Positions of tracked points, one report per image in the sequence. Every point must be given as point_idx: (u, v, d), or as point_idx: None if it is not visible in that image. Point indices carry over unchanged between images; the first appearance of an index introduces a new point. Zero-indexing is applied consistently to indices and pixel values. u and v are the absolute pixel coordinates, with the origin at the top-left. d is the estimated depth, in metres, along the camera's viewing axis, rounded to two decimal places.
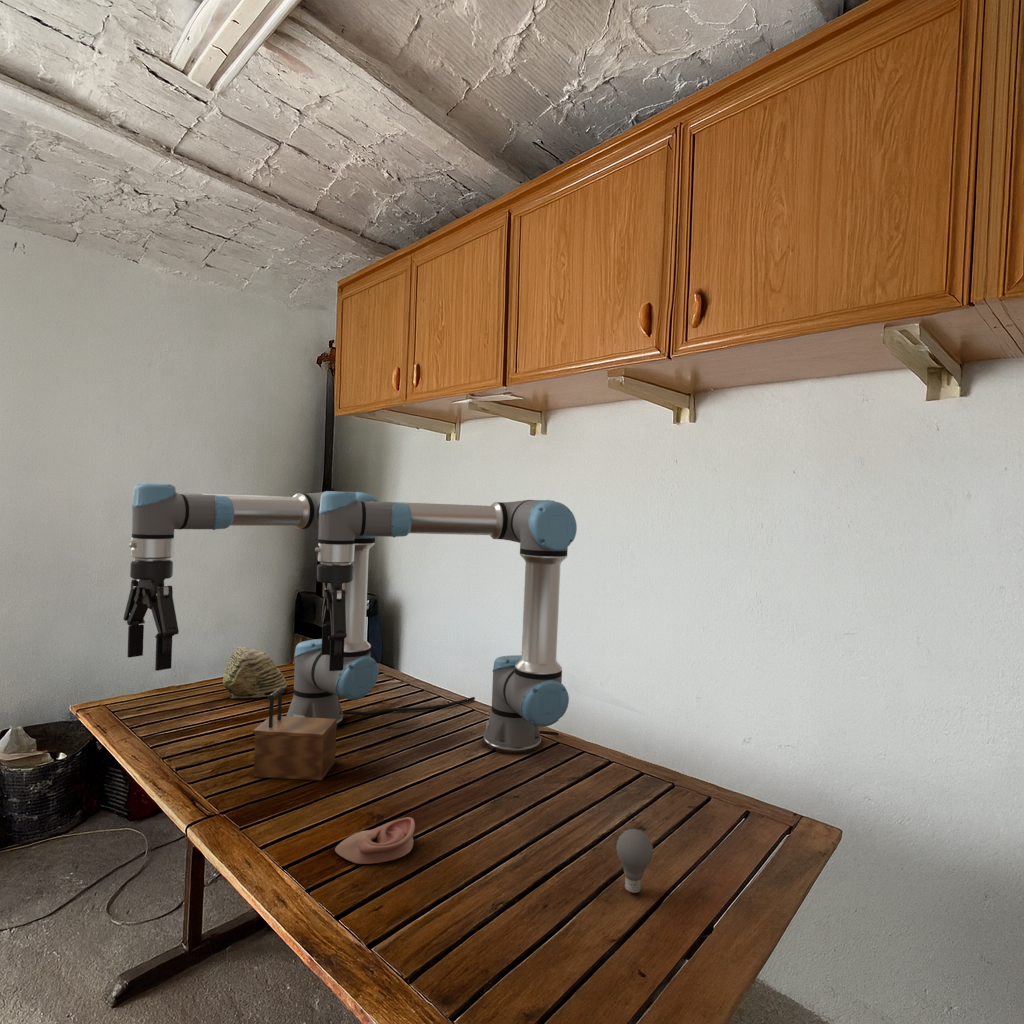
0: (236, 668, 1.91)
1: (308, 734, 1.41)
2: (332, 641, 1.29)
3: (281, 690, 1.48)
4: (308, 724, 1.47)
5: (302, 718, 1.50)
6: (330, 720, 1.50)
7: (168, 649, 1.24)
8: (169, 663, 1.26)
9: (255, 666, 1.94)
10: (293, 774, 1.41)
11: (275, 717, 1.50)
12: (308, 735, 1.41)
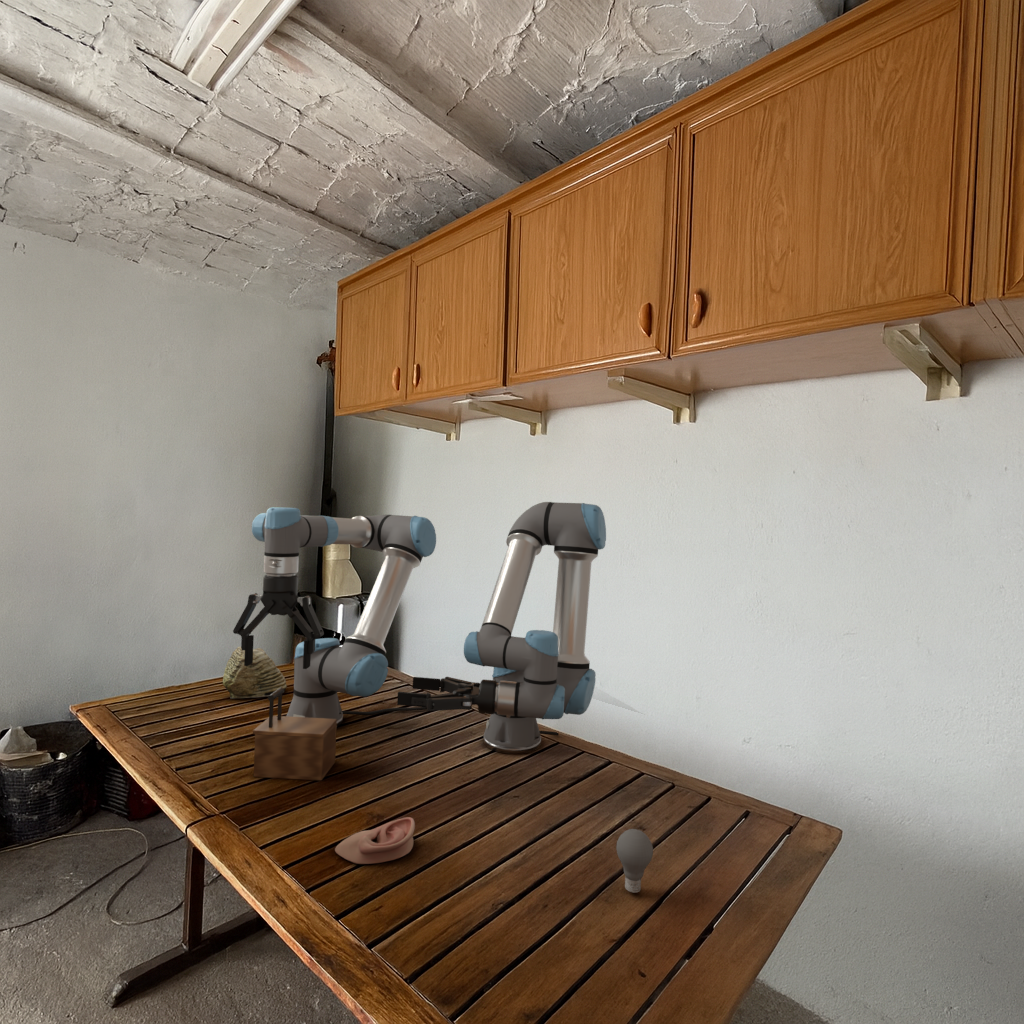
0: (236, 668, 1.91)
1: (308, 734, 1.41)
2: None
3: (281, 690, 1.48)
4: (308, 724, 1.47)
5: (302, 718, 1.50)
6: (330, 720, 1.50)
7: (314, 649, 1.46)
8: (309, 662, 1.47)
9: (255, 666, 1.94)
10: (293, 774, 1.41)
11: (276, 717, 1.50)
12: (308, 735, 1.41)
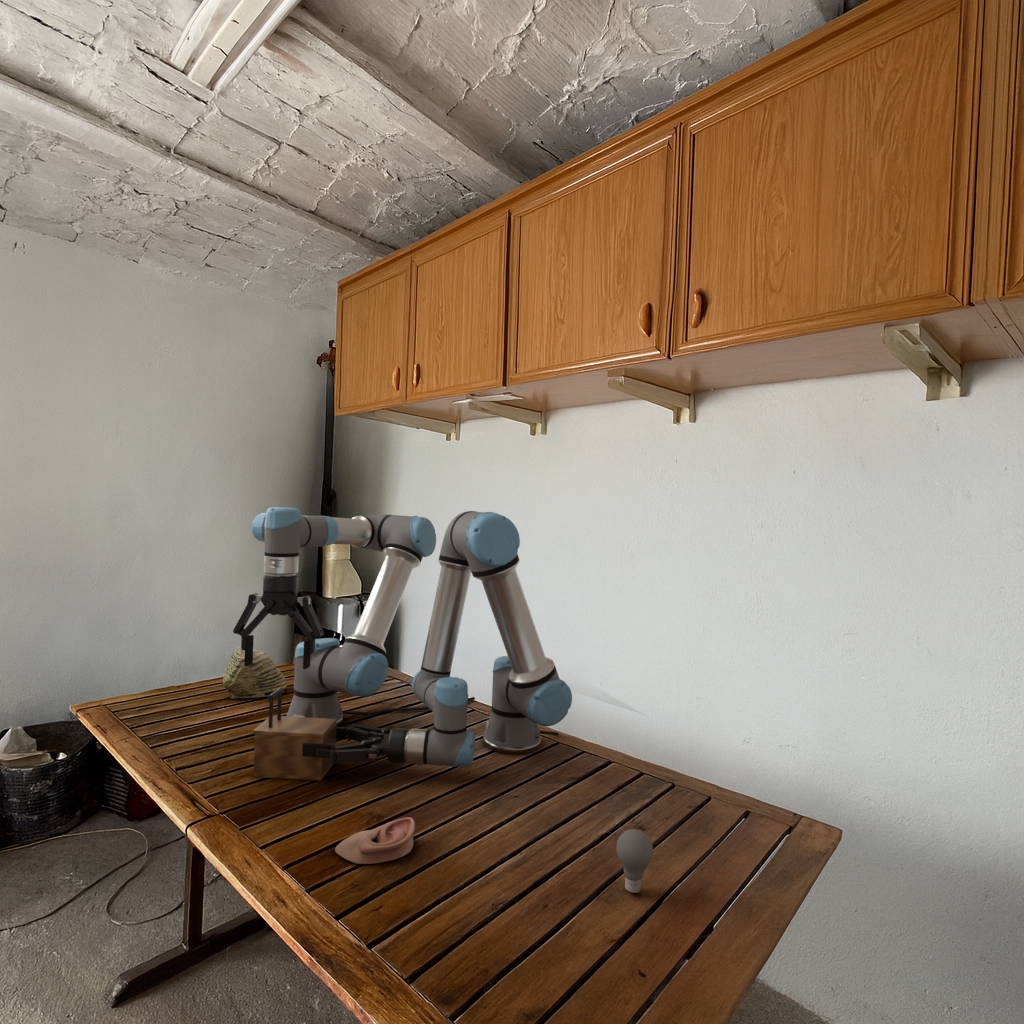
0: (236, 668, 1.91)
1: (308, 734, 1.41)
2: None
3: (281, 690, 1.48)
4: (307, 724, 1.47)
5: (302, 718, 1.50)
6: (330, 720, 1.50)
7: (314, 649, 1.46)
8: (309, 662, 1.47)
9: (255, 666, 1.94)
10: (293, 774, 1.41)
11: (275, 717, 1.50)
12: (308, 735, 1.41)
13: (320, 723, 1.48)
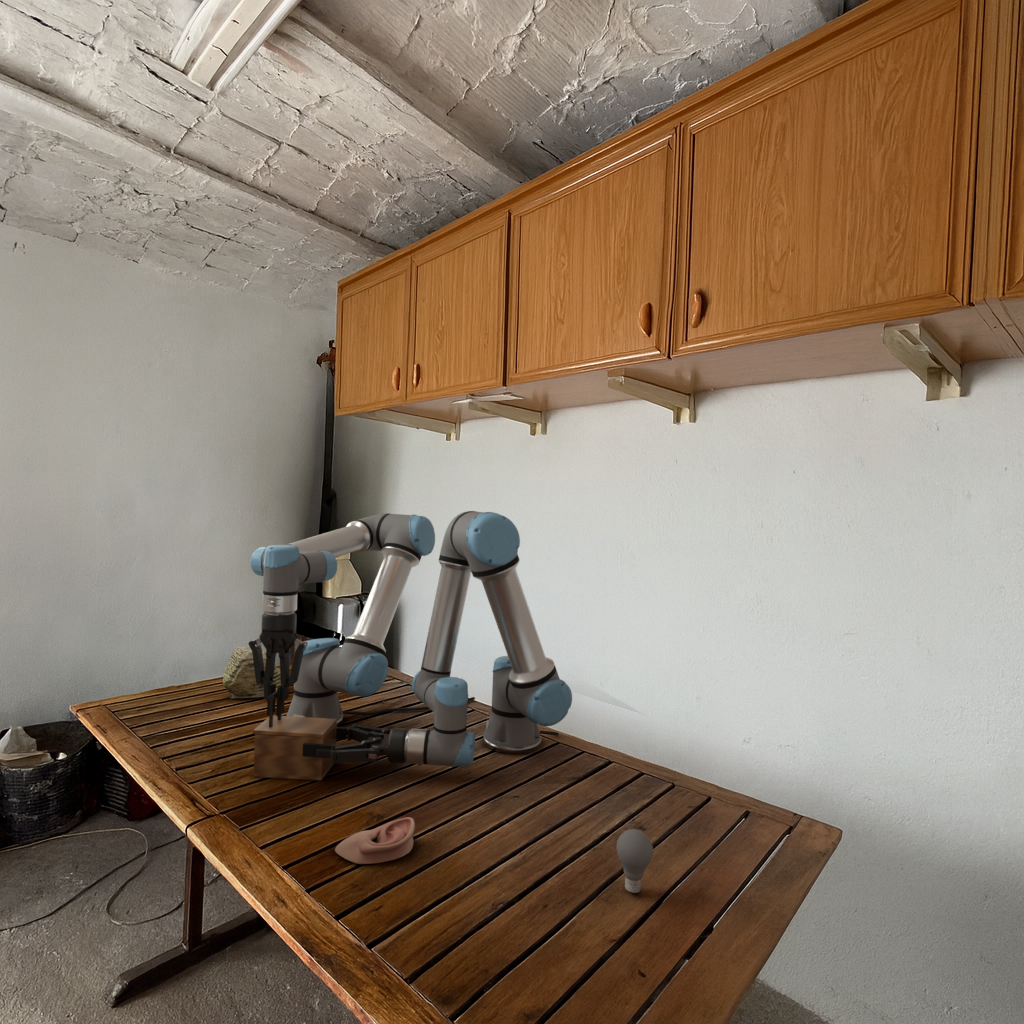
0: (236, 668, 1.91)
1: (308, 734, 1.41)
2: None
3: None
4: (308, 724, 1.47)
5: (302, 718, 1.50)
6: (330, 720, 1.50)
7: (287, 696, 1.46)
8: (283, 708, 1.47)
9: None
10: (293, 774, 1.41)
11: (275, 716, 1.50)
12: (308, 735, 1.41)
13: (320, 723, 1.48)
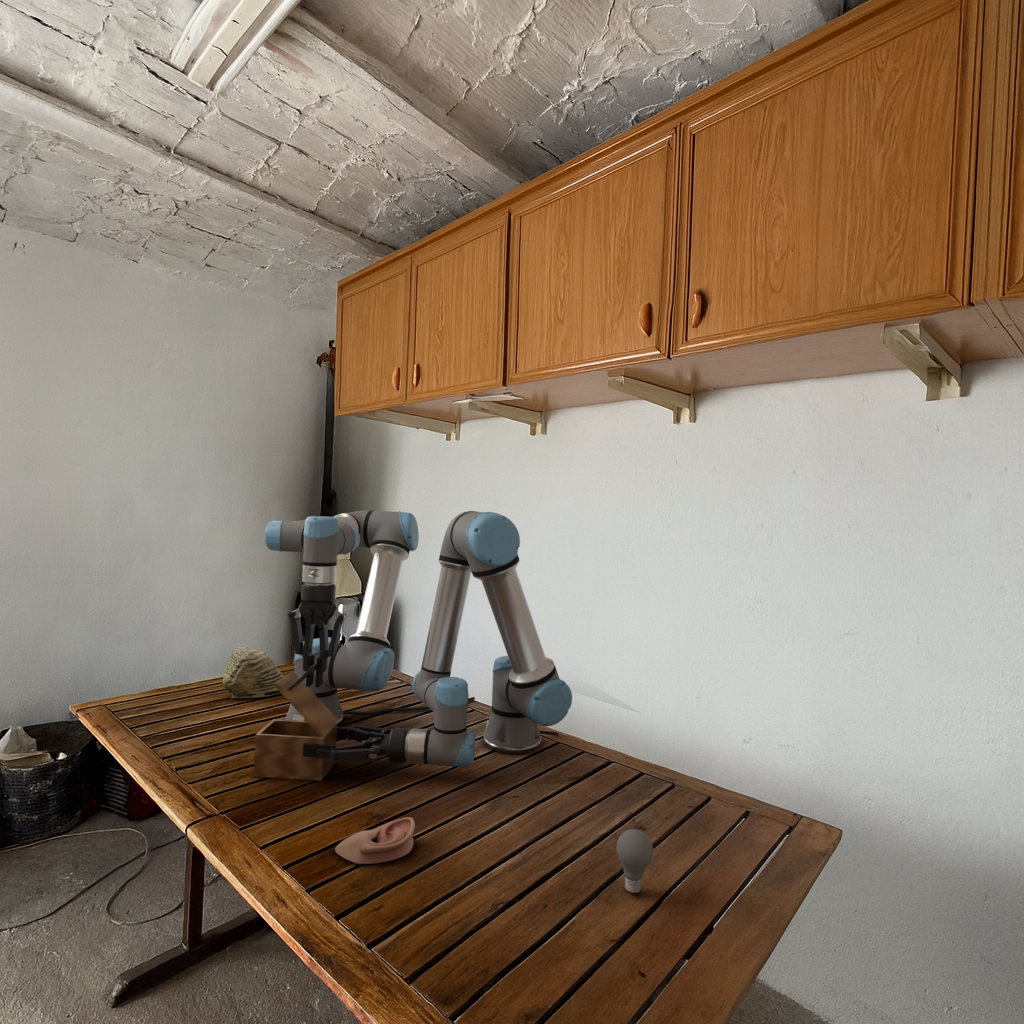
0: (236, 668, 1.91)
1: (314, 725, 1.41)
2: None
3: None
4: (316, 709, 1.47)
5: (314, 696, 1.50)
6: (333, 718, 1.50)
7: (326, 667, 1.46)
8: (322, 680, 1.47)
9: (255, 666, 1.94)
10: (293, 774, 1.41)
11: (296, 676, 1.50)
12: (313, 725, 1.41)
13: (325, 716, 1.47)
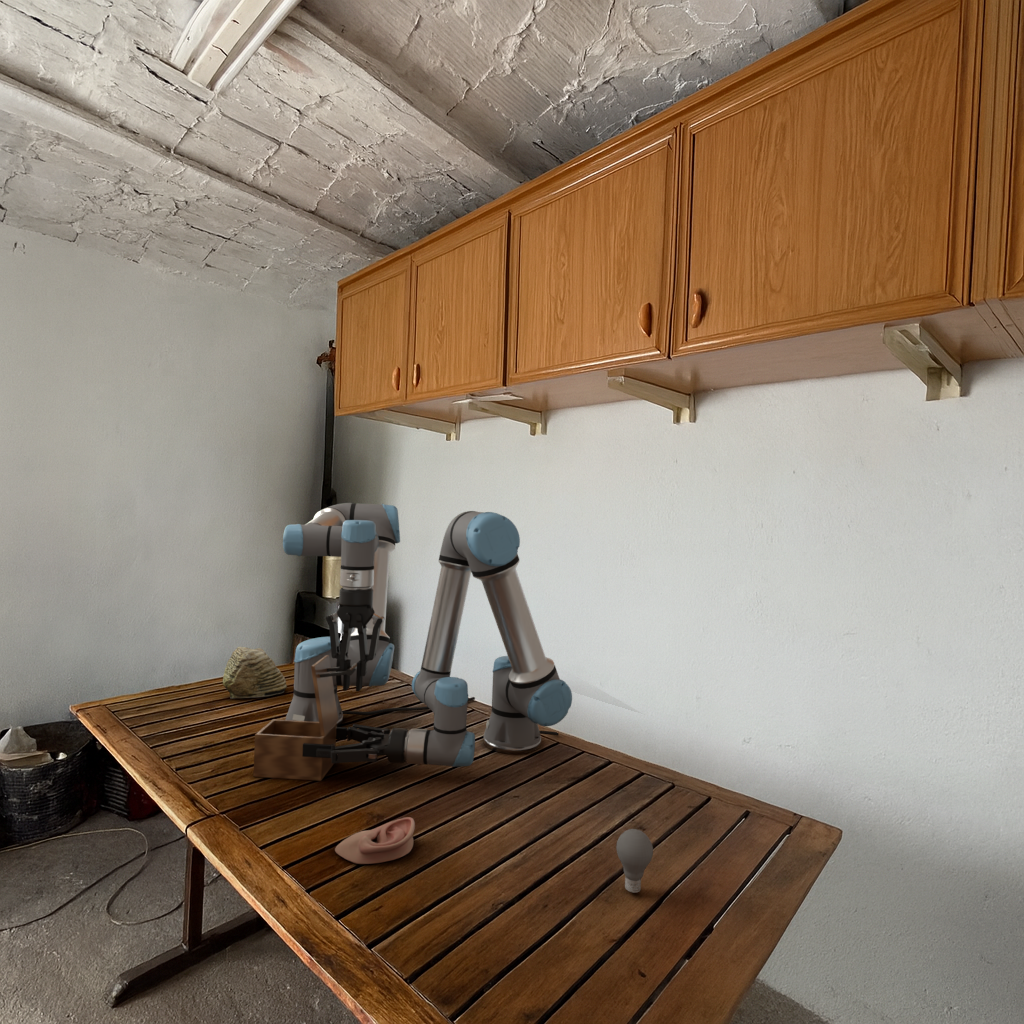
0: (236, 668, 1.91)
1: (321, 721, 1.41)
2: None
3: None
4: (329, 704, 1.46)
5: (332, 688, 1.50)
6: (336, 717, 1.50)
7: (366, 671, 1.46)
8: (361, 684, 1.47)
9: (255, 666, 1.94)
10: (293, 774, 1.41)
11: (328, 662, 1.50)
12: (320, 721, 1.41)
13: (332, 714, 1.47)
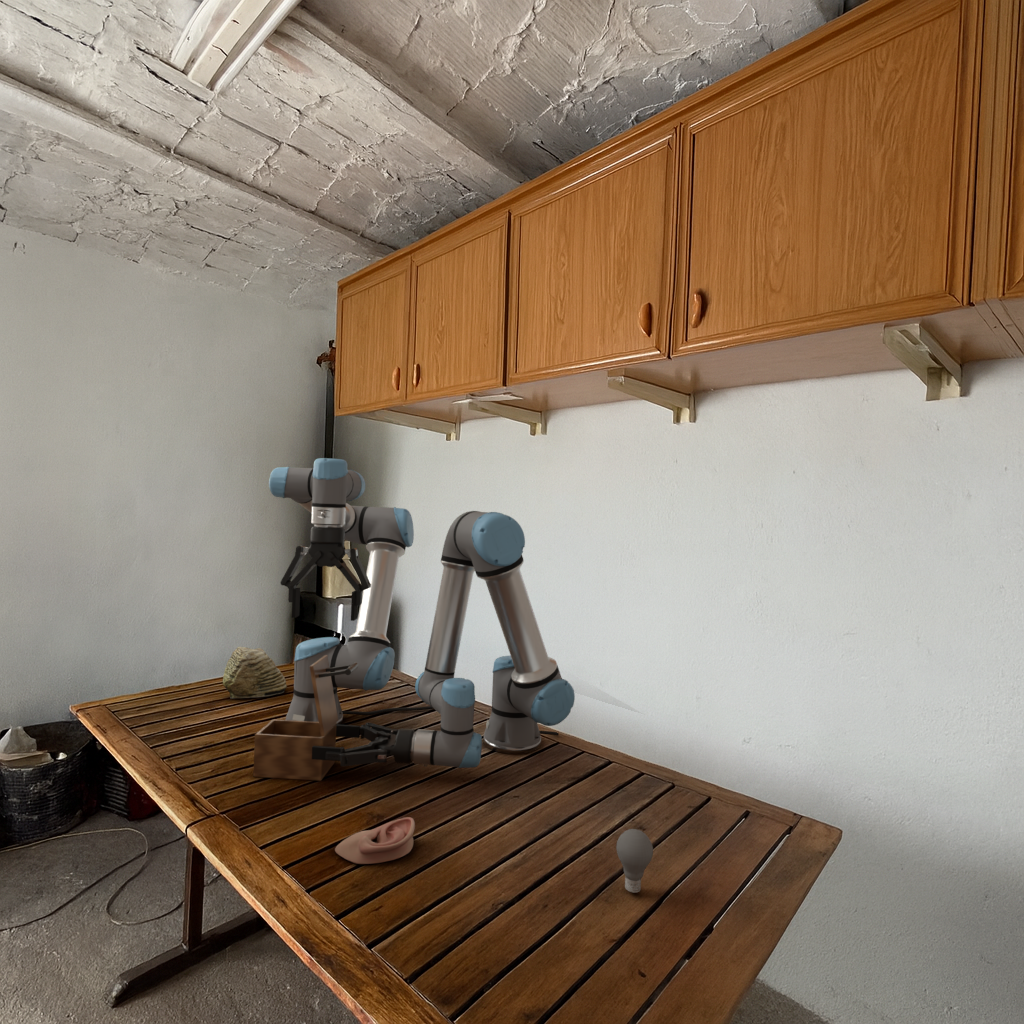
0: (236, 668, 1.91)
1: (321, 721, 1.41)
2: None
3: (355, 668, 1.47)
4: (328, 704, 1.46)
5: (331, 688, 1.50)
6: (335, 717, 1.50)
7: (361, 601, 1.45)
8: (356, 614, 1.46)
9: (255, 666, 1.94)
10: (293, 774, 1.41)
11: (327, 662, 1.50)
12: (320, 721, 1.41)
13: (331, 714, 1.47)
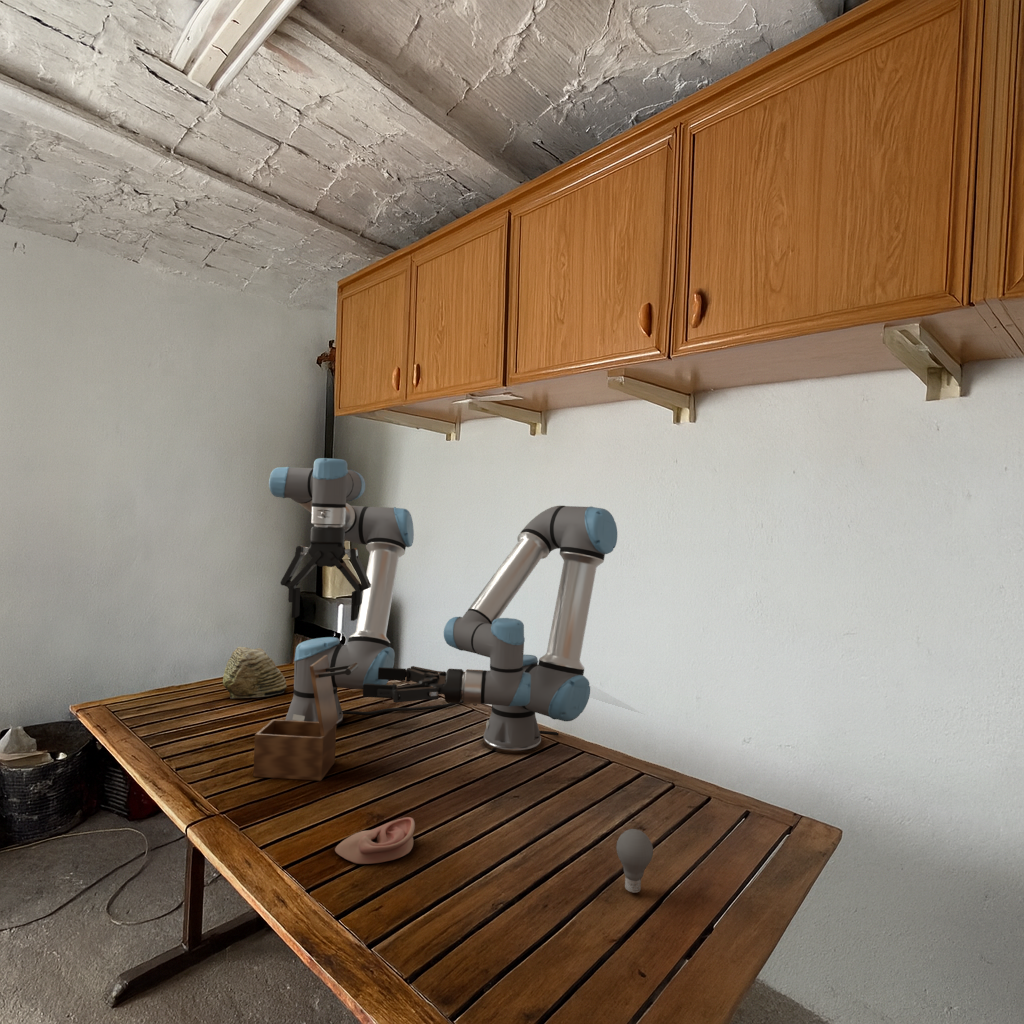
0: (236, 668, 1.91)
1: (321, 721, 1.41)
2: None
3: (355, 668, 1.47)
4: (328, 704, 1.46)
5: (331, 688, 1.50)
6: (335, 717, 1.50)
7: (361, 601, 1.45)
8: (356, 614, 1.46)
9: (255, 666, 1.94)
10: (293, 774, 1.41)
11: (327, 662, 1.50)
12: (320, 721, 1.41)
13: (331, 714, 1.47)
